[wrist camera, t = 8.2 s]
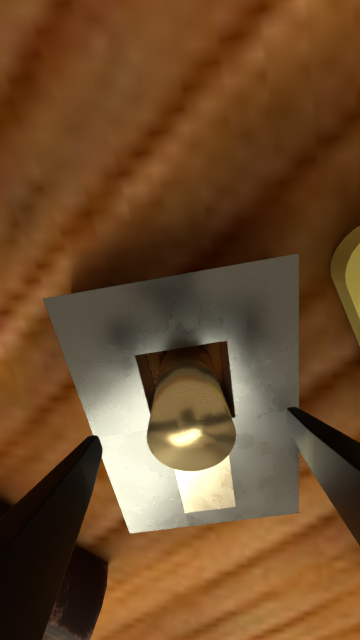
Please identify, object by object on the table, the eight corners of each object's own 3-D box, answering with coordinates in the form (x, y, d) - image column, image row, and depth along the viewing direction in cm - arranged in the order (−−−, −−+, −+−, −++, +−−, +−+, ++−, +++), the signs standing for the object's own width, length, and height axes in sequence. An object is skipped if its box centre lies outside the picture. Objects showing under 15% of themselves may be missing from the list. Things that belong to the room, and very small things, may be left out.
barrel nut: (214, 386, 14) (239, 465, 8) (165, 393, 14) (156, 476, 8) (208, 340, 13) (231, 393, 7) (155, 348, 13) (137, 407, 7)
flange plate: (281, 478, 17) (300, 516, 14) (136, 496, 17) (129, 536, 14) (273, 257, 12) (301, 252, 9) (70, 293, 12) (40, 299, 9)
